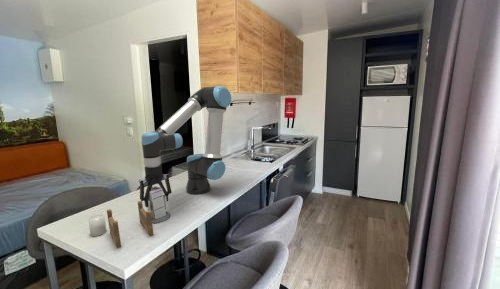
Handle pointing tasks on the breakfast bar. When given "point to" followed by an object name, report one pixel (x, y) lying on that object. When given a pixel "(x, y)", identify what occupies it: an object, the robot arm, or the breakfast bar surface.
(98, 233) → the off-white capsule
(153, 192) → the syrup box
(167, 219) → the slate coaster
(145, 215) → the oak stand
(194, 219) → the breakfast bar surface
